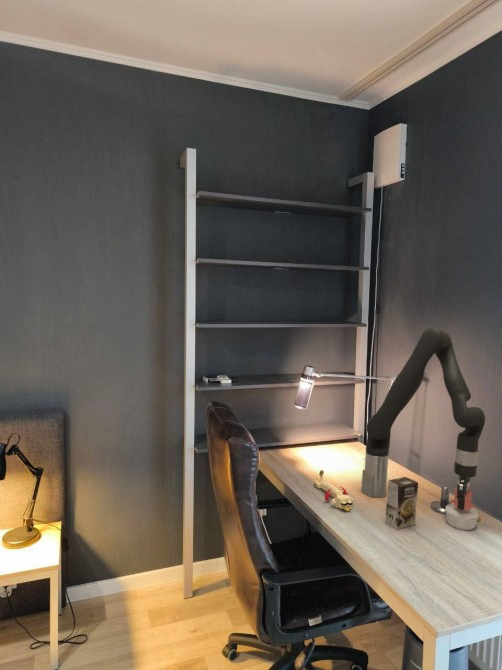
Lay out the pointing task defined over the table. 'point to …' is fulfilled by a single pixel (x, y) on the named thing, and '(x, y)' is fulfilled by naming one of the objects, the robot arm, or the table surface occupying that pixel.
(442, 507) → the grey lamp
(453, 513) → the ramekin
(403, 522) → the coffee box
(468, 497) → the cap
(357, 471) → the table surface
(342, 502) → the cream toy dragon
